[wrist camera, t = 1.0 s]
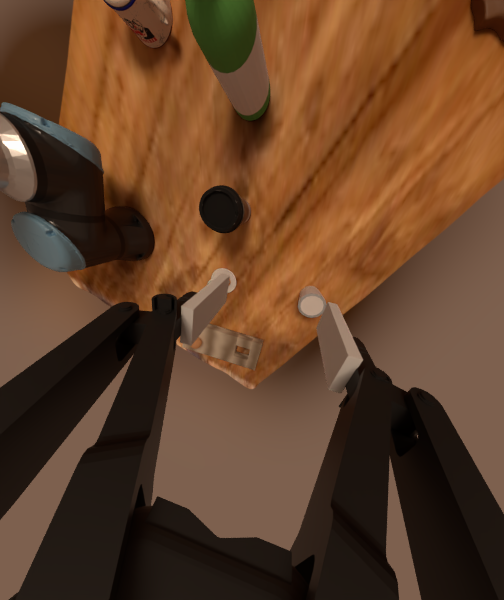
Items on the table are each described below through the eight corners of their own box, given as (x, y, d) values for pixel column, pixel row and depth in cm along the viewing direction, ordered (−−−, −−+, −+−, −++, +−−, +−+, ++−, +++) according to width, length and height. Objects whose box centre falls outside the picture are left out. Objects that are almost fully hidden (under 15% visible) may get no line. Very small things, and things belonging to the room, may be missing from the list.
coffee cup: (253, 231, 48) (237, 238, 35) (222, 226, 49) (196, 230, 36) (258, 195, 44) (242, 186, 31) (225, 190, 45) (196, 180, 32)
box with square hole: (186, 342, 70) (182, 347, 68) (187, 317, 65) (183, 320, 63) (256, 365, 67) (254, 370, 65) (263, 340, 62) (262, 344, 60)
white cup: (309, 278, 50) (311, 288, 44) (328, 294, 51) (332, 305, 45) (292, 296, 53) (292, 307, 47) (310, 310, 54) (312, 322, 48)
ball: (193, 341, 66) (187, 349, 62) (193, 333, 64) (187, 340, 60) (203, 345, 65) (198, 352, 62) (204, 336, 64) (198, 343, 60)
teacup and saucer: (209, 289, 59) (203, 294, 55) (209, 265, 55) (203, 268, 51) (235, 294, 57) (231, 300, 54) (237, 270, 54) (233, 274, 50)
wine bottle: (254, 58, 35) (123, -443, 8) (279, 97, 36) (237, -220, 10) (226, 98, 38) (69, -167, 12) (250, 133, 40) (160, -32, 13)
